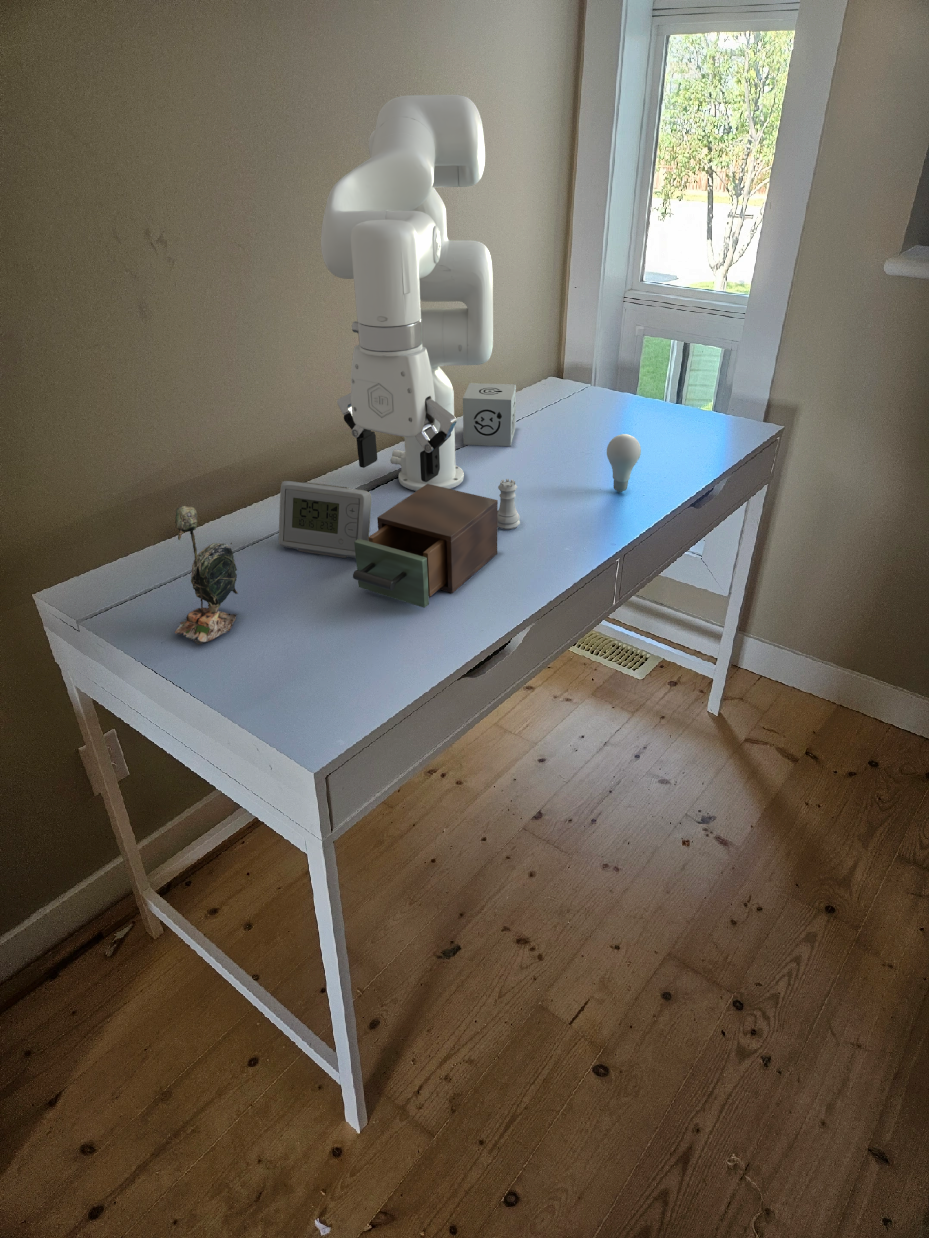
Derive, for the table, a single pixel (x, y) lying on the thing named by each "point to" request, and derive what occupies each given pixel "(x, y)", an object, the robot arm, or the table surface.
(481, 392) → the icon cube
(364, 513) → the digital clock
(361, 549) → the drawer
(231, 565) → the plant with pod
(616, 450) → the lightbulb
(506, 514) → the rook chess piece
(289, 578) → the table surface
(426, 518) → the cabinet
